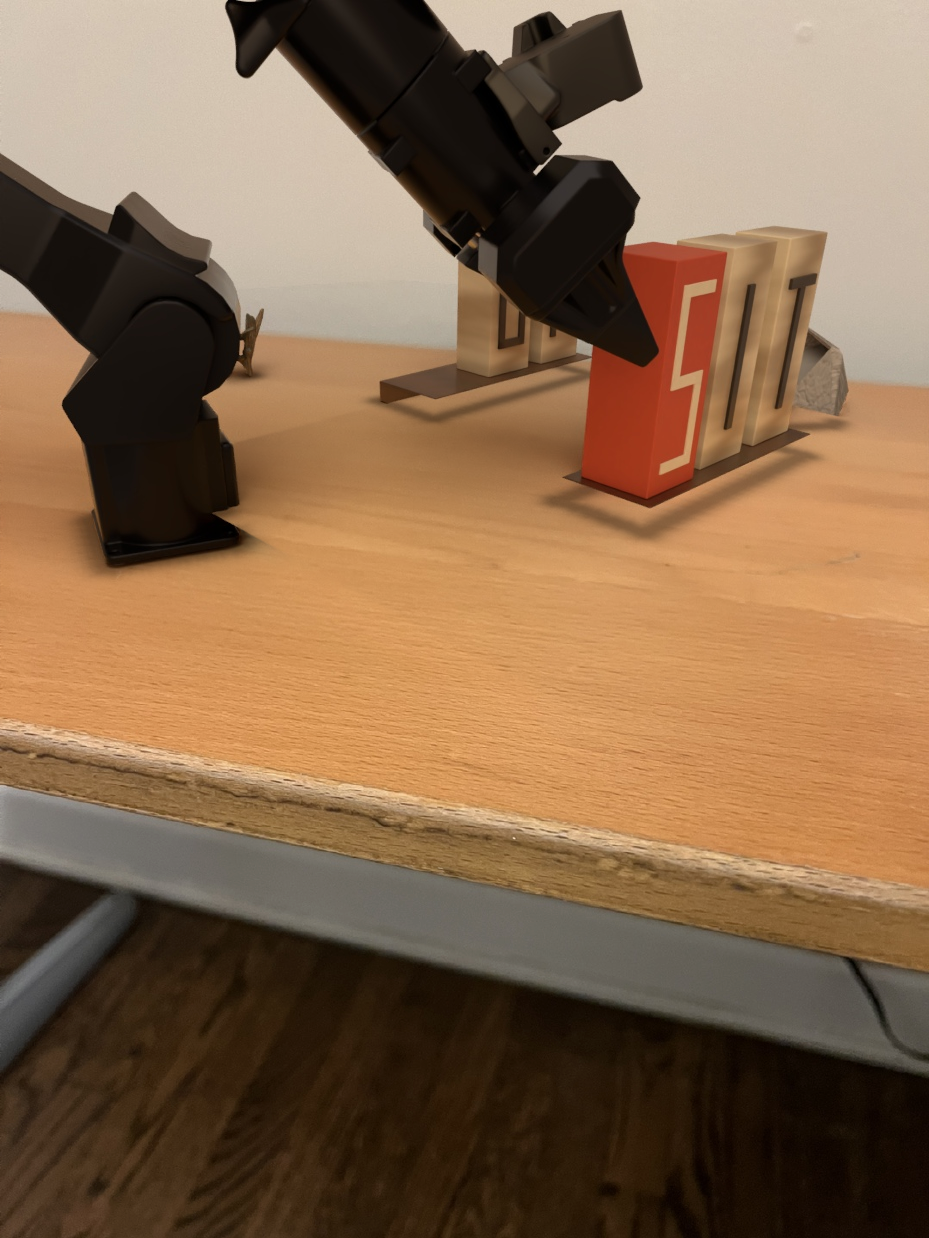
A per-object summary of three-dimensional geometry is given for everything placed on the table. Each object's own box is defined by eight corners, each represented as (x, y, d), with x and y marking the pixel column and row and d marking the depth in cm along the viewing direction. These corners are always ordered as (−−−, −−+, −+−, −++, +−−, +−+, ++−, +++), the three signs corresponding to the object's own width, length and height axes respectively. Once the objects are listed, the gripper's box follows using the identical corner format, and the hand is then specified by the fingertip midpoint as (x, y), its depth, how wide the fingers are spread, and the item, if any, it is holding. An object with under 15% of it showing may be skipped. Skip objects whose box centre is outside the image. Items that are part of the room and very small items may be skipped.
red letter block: (648, 500, 49) (679, 260, 43) (580, 477, 51) (600, 249, 45) (694, 479, 51) (730, 252, 45) (627, 458, 54) (652, 241, 48)
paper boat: (868, 427, 61) (740, 383, 61) (818, 479, 67) (701, 440, 67) (878, 301, 67) (760, 260, 66) (831, 359, 72) (722, 322, 72)
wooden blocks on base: (435, 419, 65) (436, 211, 58) (379, 400, 68) (374, 203, 61) (592, 374, 76) (608, 196, 69) (537, 360, 79) (547, 190, 73)
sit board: (646, 534, 48) (682, 264, 42) (559, 501, 52) (579, 248, 45) (806, 455, 60) (855, 233, 53) (725, 433, 63) (761, 222, 56)
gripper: (612, -114, 30) (842, 244, 37) (485, -45, 46) (664, 197, 53) (379, 154, 32) (638, 439, 40) (335, 132, 48) (527, 339, 56)
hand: (617, 337), depth 47 cm, fingers open, 9 cm apart
